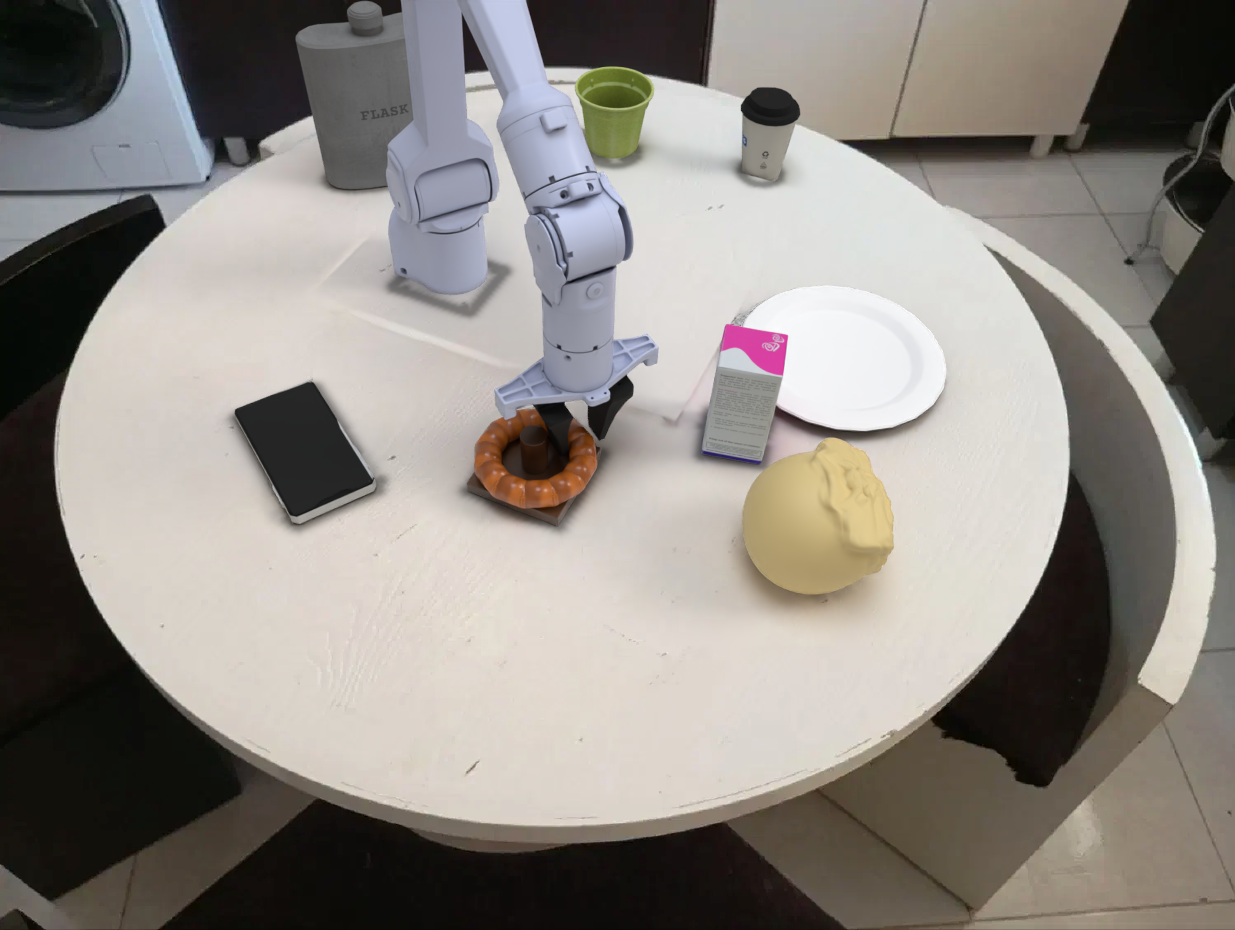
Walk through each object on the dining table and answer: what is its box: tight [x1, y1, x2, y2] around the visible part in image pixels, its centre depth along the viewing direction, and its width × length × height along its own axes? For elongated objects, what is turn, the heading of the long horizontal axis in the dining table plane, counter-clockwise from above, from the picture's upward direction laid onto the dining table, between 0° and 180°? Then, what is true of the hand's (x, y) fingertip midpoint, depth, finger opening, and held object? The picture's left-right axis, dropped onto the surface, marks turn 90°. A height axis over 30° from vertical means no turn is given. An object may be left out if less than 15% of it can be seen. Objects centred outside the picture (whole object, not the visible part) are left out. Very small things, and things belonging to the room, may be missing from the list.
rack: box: [466, 425, 602, 527], centre depth 88 cm, size 9×9×5 cm
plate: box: [741, 284, 948, 433], centre depth 100 cm, size 21×21×2 cm
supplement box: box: [700, 323, 788, 465], centre depth 89 cm, size 6×6×12 cm
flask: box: [295, 0, 414, 190], centre depth 111 cm, size 15×6×20 cm, turn 112°
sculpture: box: [741, 437, 895, 595], centre depth 81 cm, size 12×12×11 cm
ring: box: [473, 408, 598, 509], centre depth 88 cm, size 11×11×2 cm
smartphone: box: [234, 380, 377, 525], centre depth 90 cm, size 8×1×15 cm
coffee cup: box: [740, 86, 801, 183], centre depth 117 cm, size 7×7×10 cm
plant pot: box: [574, 66, 655, 159], centre depth 120 cm, size 9×9×9 cm
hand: (578, 440), depth 90 cm, fingers open, 3 cm apart
